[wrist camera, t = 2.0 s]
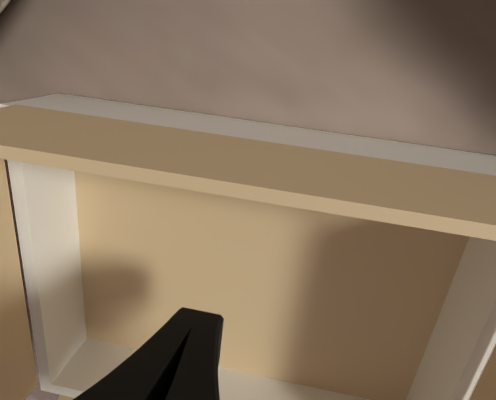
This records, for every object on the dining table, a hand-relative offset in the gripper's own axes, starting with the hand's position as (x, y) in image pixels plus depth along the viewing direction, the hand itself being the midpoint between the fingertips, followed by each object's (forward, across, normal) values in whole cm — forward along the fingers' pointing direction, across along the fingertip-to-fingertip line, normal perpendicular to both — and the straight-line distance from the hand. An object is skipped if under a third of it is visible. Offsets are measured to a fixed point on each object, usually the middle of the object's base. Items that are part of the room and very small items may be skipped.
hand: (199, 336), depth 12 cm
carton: (+4, -1, +1) cm, 5 cm away
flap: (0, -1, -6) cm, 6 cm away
